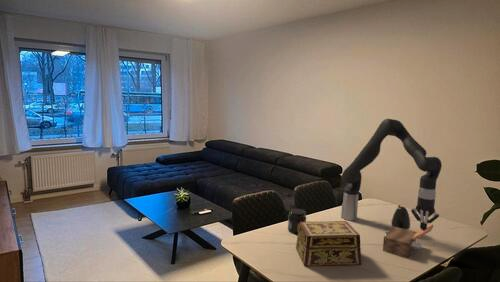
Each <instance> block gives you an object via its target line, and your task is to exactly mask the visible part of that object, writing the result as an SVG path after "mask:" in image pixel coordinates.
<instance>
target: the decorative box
mask: <svg viewBox="0 0 500 282" xmlns="http://www.w3.org/2000/svg"><path fill="white" fill-rule="evenodd" d="M295 244H296V245H295V249H296V252H297V254H298V256H299V258H300V260H301V262H302V264H303V266H304V267H306V268H307V267H337V266H338V267H340V266H341V267H342V266H343V267H344V266H345V267H346V266H361V265H362V253H361V252H362V249H361V234H360V233H359V232H358V231H357V230H355V228H354V227H353V226H352V225H351V224H350V223H349V222H348V220H343V221H342V220H339V221H337V220H336V221H333V220H332V221H331V220H330V221H328V220H327V221H306V222H299V229H298V234H297V237H296V243H295Z"/></svg>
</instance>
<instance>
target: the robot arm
mask: <svg viewBox="0 0 500 282" xmlns="http://www.w3.org/2000/svg"><path fill="white" fill-rule="evenodd" d="M387 136H390V137H392V136H393V137H396V138H397V139H398V140H400V141H401V143H402V145H403V148H404V150H405V151H406V153H408V155H409V156H410V157H411V158H412V159H413V161H414V163H415V164H416V166H417V168H418V169H419V170H420V171H422V172H426V173H424V174H423V175H421V177H420V179H419V189H418V192H417V204H416V207H415V208H412V209H411V210H410V212H411V213H412V215H413V217H414V218H415V219H416V220H417V221H419V223H420V225H419V228H420V229H421V230H426V228H427V227H428V224H431V223H433V222H434V221H435V220H437V219H439V217H440V214H439V213H437V211H436V209H435V203H436V197H437V196H436V193H437V192H436V191H437V190H436V188H437V180H438V178H439V175H440V173H441V170H442V167H443V166H442V161H441V159H440V158H439V157H438V156H437V157H436V156H427V150H426V149H425V148H424V147H423V146H422V145H421V144H420V143H419V142H418V141H417V140H416V139H415V138H414V137H413V136H412V135H411V133H409V131H408V130H407V128H406V127H405V125H404V123H402V121H400V120H397V119H393V118H385V119H383V120H382V121H381V122H380V124H379V126H378V127H377V129H376V130H375V132H374V133H373V135H372V136H371V138H370V139H369V140H368V142H367V143H366V144H365V146H364V147H362V149H361V150H360V152H359V154H358V155H357V156H356V157H355V159H354V160H353V161H351V163H350V165H349V166H347V167H346V168H345V169H344V171H343V172H342V175H341V178H342V181H343V182H344V183H345V184H347V185H346V186H345V187H344V188H343V201H342V203H341V212H340V213H341V214H340V218H342V219H344V221H353V222H354V221H357V220H358V208H359V206H358V205H359V193H360V190H361V184H362V172H361V171H362V170H363V169H364V168H366V167H367V166H369V165H370V164H371V163H373V162H374V161H375V160H376V159H377V157H378V156H379V155H380V153H381V144H382V143H383V141H384V139H386V138H387ZM431 216H432V217H431ZM429 217H431V218H429ZM421 230H420V231H421Z"/></svg>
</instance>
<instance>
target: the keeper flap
mask: <svg viewBox="0 0 500 282" xmlns="http://www.w3.org/2000/svg"><path fill="white" fill-rule="evenodd" d="M433 228H434V225H433V224H430V225H427V228H426V230H419V231H416V233H415V235H414V237H413V238H412V239H413V240H415V239H416V240H417V239H419V238H422V237H423V236H424V235H427V234H428V233H431V232H432V230H433Z"/></svg>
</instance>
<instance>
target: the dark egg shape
mask: <svg viewBox="0 0 500 282" xmlns="http://www.w3.org/2000/svg"><path fill="white" fill-rule="evenodd" d="M390 223H391V228H392V227H393V226H394V227H398V228H402V229H406V230H410V228H411V219H410V213H409V211H408V209H407V208H406V207H405V206H401V205H398V206H397V208H396V210H395V211H394V213H393V216H392V219H391V222H390Z"/></svg>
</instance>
